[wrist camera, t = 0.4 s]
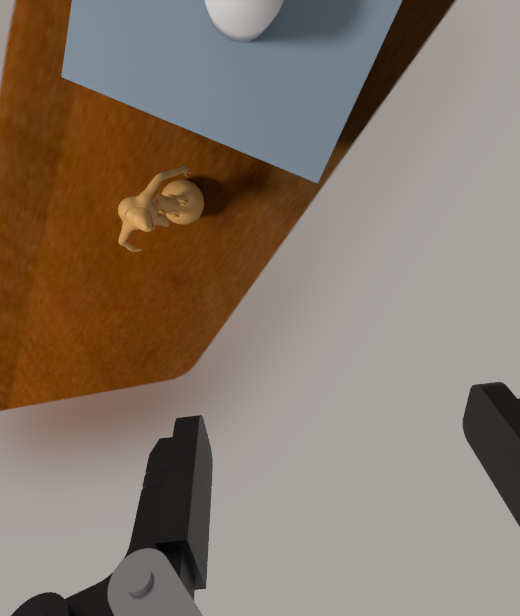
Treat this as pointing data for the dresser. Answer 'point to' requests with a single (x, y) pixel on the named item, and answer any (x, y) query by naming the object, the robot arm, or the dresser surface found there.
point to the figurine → (160, 206)
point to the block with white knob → (235, 67)
